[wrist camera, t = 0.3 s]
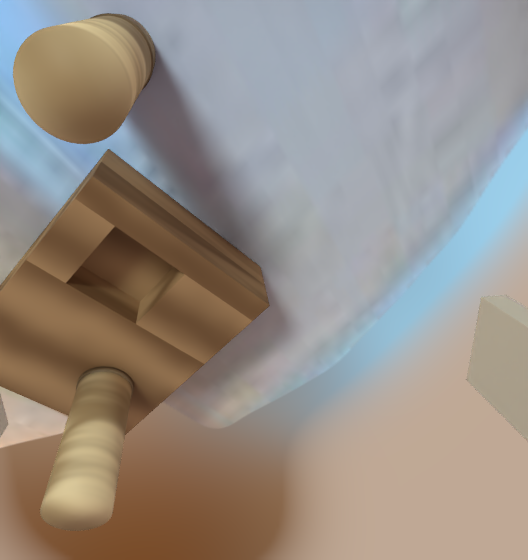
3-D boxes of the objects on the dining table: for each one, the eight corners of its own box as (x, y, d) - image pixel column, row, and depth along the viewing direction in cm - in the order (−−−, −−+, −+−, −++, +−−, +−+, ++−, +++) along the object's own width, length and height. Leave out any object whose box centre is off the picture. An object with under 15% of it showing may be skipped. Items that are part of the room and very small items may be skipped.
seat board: (108, 148, 32) (41, 265, 18) (260, 267, 40) (295, 415, 26) (-24, 315, 39) (-149, 498, 25) (129, 390, 46) (100, 564, 32)
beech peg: (112, -6, 27) (51, -8, 16) (170, 51, 30) (155, 86, 18) (71, 53, 29) (-13, 91, 17) (130, 103, 31) (91, 167, 19)
